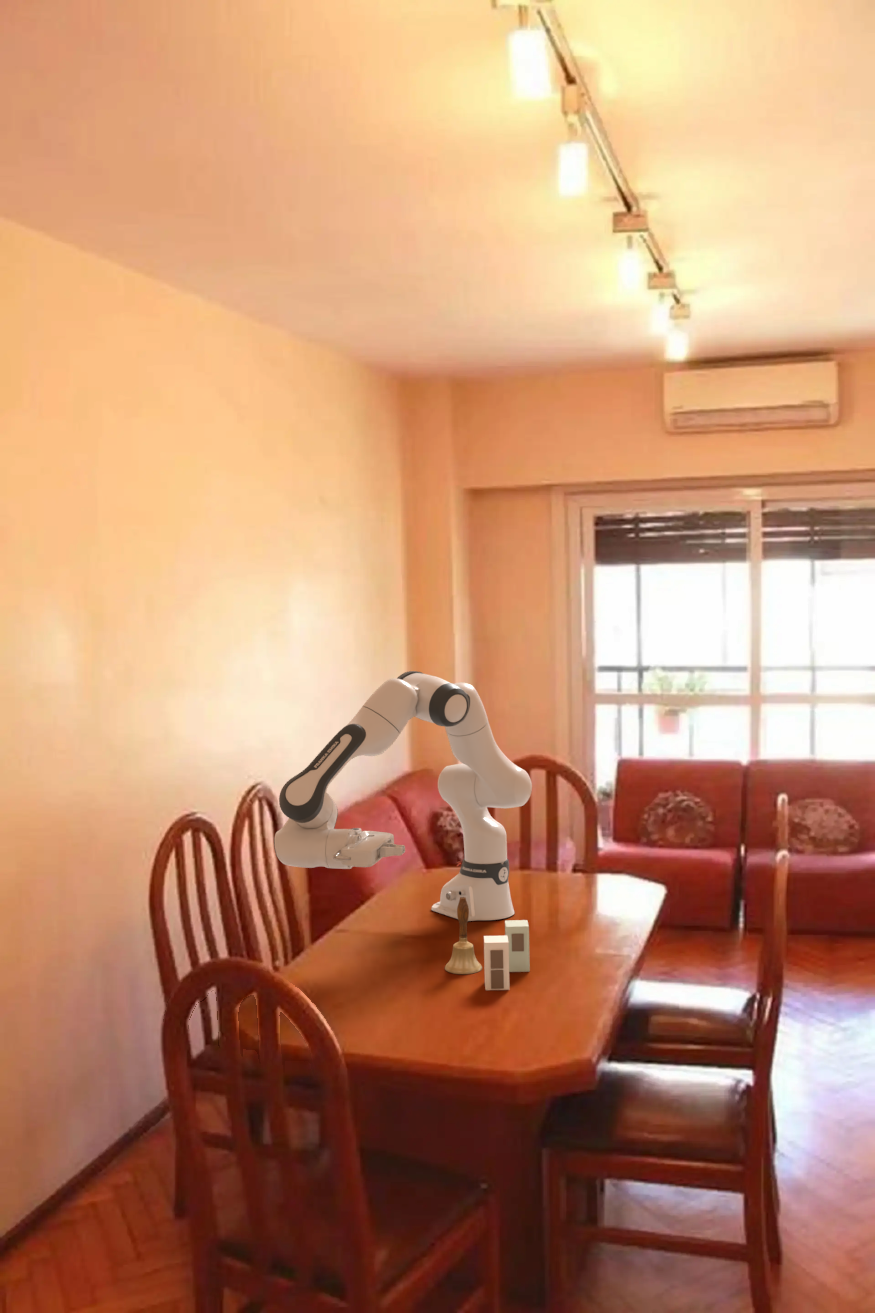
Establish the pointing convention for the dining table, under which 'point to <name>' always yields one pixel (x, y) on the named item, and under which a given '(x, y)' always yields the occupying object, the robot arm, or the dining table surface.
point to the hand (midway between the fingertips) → (403, 850)
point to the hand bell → (463, 946)
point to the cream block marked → (496, 962)
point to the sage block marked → (518, 945)
